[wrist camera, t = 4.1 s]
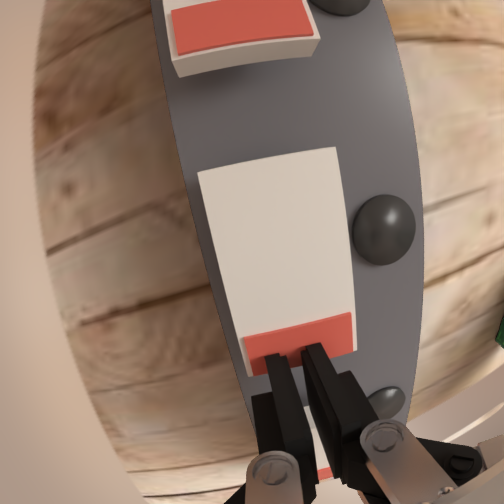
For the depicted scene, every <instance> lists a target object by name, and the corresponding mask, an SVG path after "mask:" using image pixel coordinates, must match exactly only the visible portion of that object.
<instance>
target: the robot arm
mask: <svg viewBox="0 0 504 504" xmlns="http://www.w3.org/2000/svg"><path fill="white" fill-rule="evenodd" d="M305 347H306V350H304V351H301V352H300V353H301V360H302V366H303V372H304V379H305V385H306V392H307V398H308V404H309V408H310V412H311V414H312V417H313V420H314V423H315V426H316V429H317V431H318V434H319V437H320V440H321V443H322V446H323V449H324V451H325V454H326V457H327V460H328V463H329V466H330V468H331V471H332V474H333V477H334V479H337V478H340V479H341V482H342V484H343V485H344V484H347V486H348V487H349V488H352V489H355V490H357V492H358V495H359V496H360V498H361V500H362V501H363V503H364V504H504V434H502V435H500V436H497V437H494V438H492V439H489V440H486V441H484V442H480V443H478V445H477V446H476V447H473V448H472V447H469V446H465V445H458V444H451V443H445V442H439V441H433V440H428V439H422V438H417V437H415V436H414V435H413V434H412V433H411V432H410V431H409V429H408V428H407V427H406V426H405V425H404V424H402V423H401V422H399V421H397V420H393V419H381V420H380V419H379V418H378V416H377V414H376V412H375V411H374V409H373V407H372V405H371V404H370V402H369V400H368V399H367V397H366V395H365V393H364V392H363V390H362V388H361V387H360V385H359V383H358V381H357V380H356V378H355V376H354V375H353V373H352V372H351V371H350V370H348V371H345V372H342V373H339V374H337V372H336V370H335V368H334V367H333V365H332V363H331V361H330V359H329V357H328V355H327V353H326V351H325V349H324V348H323V346H322V344H321V342H319V343H315V344H311V345H307V346H305ZM264 358H265V362H266V367H267V371H268V375H269V380H270V384H271V388H272V391H271V392H267V393H262V394H258V395H253V396H251V402H252V408H253V415H254V422H255V429H256V436H257V442H258V449H259V456H257V457H256V458H254V459H253V460H252V461H251V463H250V464H249V466H248V468H247V472H246V483H245V484H244V485H243V486H242V487H241V488H240V489H239V490H238V491H237V492H235V493H234V494H233V495H232V496H231V497H230V498H229V499H228V500H227V501H226V502H225V503H224V504H311V503H312V501H313V500H314V499H315V498H316V489H315V485H316V484H319V479H318V471H317V464H316V456H315V449H314V442H313V436H312V432H311V429H310V425H309V422H308V419H307V416H306V413H305V410H304V407H303V404H302V401H301V398H300V395H299V392H298V389H297V386H296V383H295V380H294V378H293V375H292V372H291V369H290V366H289V363H288V360H287V357H286V355H285V356H281V357H280V354H279V353H276V354H272V355H267V356H264Z"/></svg>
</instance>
